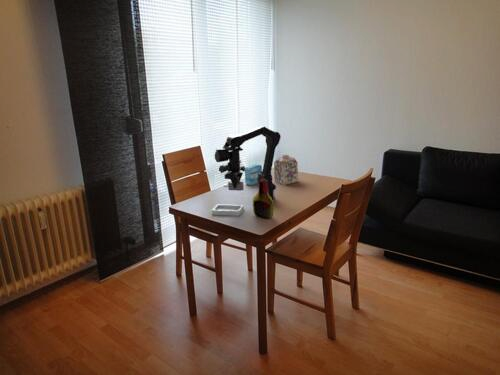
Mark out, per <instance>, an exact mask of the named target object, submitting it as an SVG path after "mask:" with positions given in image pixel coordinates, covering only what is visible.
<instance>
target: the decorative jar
mask: <svg viewBox="0 0 500 375" xmlns="http://www.w3.org/2000/svg"><path fill="white" fill-rule="evenodd" d="M298 166H299V165H298V161H297V159H296V158H295V157H292V156H290V155H289V154H283V155H281V157H278V158H276V159H275V161H273V174H274V175H273V176H274V177H273V178H274V182H276V183H278V184H280V185H283V186H286V185H290V184H294V183H297V182H298V180H299V172H298V171H299V168H298Z"/></svg>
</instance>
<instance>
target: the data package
mask: <svg viewBox="0 0 500 375" xmlns="http://www.w3.org/2000/svg"><path fill="white" fill-rule="evenodd" d="M244 167H245V171H244V178H245V179H244V180H245V184H246V185H249V186H253V185H257V184H258V180H257V179H258V174H261V173H262V171H263V167H262V164H257V163H256V164H255V163H254V164H252V165H247V166H244Z"/></svg>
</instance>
